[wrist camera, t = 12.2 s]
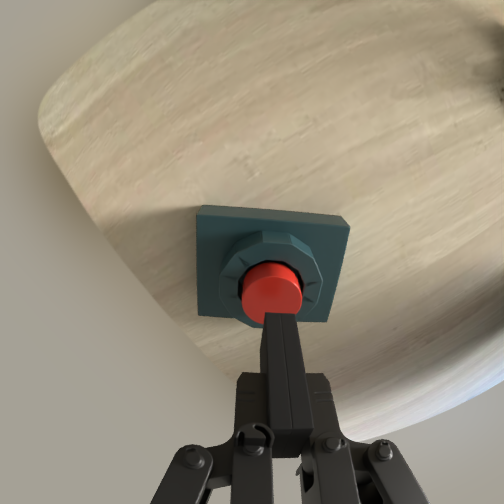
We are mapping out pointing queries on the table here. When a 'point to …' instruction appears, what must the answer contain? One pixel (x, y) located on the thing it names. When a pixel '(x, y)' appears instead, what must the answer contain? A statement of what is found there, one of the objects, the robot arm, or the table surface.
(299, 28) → the table surface
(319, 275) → the button box
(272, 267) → the button
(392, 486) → the robot arm
